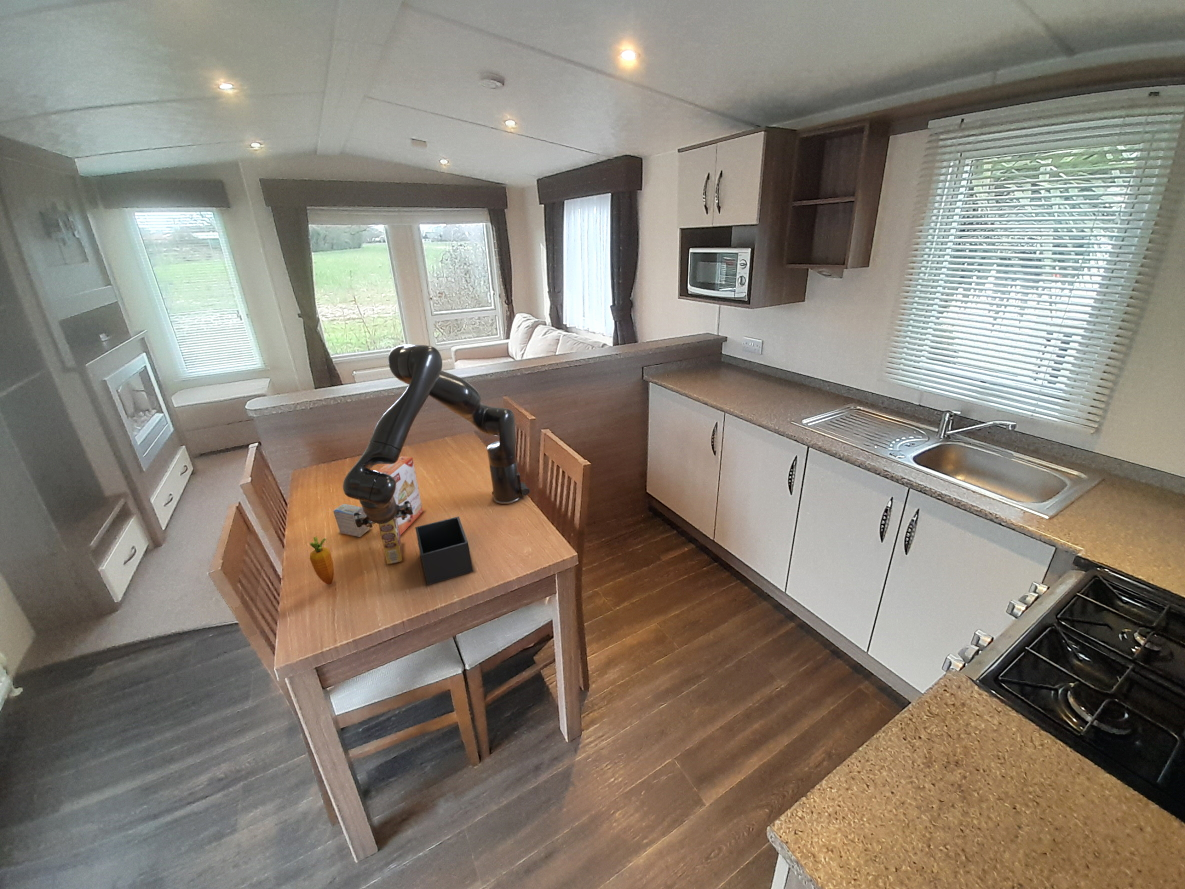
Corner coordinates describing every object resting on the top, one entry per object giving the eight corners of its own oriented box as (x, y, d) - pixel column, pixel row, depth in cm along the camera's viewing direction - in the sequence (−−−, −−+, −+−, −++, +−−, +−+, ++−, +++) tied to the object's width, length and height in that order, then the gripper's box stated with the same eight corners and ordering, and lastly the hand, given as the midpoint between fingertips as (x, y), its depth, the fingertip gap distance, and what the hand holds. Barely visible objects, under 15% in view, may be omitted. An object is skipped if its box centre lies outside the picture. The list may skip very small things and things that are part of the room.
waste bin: (463, 543, 143) (458, 516, 139) (473, 571, 131) (468, 542, 127) (421, 555, 139) (415, 527, 135) (427, 585, 127) (420, 555, 123)
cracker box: (401, 536, 147) (387, 477, 139) (384, 534, 149) (369, 475, 140) (424, 511, 160) (413, 456, 151) (408, 510, 161) (395, 454, 152)
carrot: (324, 579, 130) (309, 534, 124) (343, 577, 131) (328, 532, 124) (316, 591, 126) (300, 545, 120) (336, 590, 126) (320, 544, 120)
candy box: (403, 561, 136) (392, 516, 130) (387, 565, 135) (375, 520, 129) (403, 543, 144) (392, 500, 137) (388, 547, 143) (376, 503, 136)
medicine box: (370, 529, 151) (363, 506, 147) (359, 538, 147) (352, 514, 144) (350, 525, 154) (343, 502, 150) (339, 533, 150) (332, 510, 146)
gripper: (406, 485, 123) (410, 501, 138) (346, 498, 118) (357, 514, 133) (412, 512, 121) (416, 526, 136) (351, 527, 116) (362, 540, 131)
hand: (387, 520), depth 134 cm, fingers open, 8 cm apart
